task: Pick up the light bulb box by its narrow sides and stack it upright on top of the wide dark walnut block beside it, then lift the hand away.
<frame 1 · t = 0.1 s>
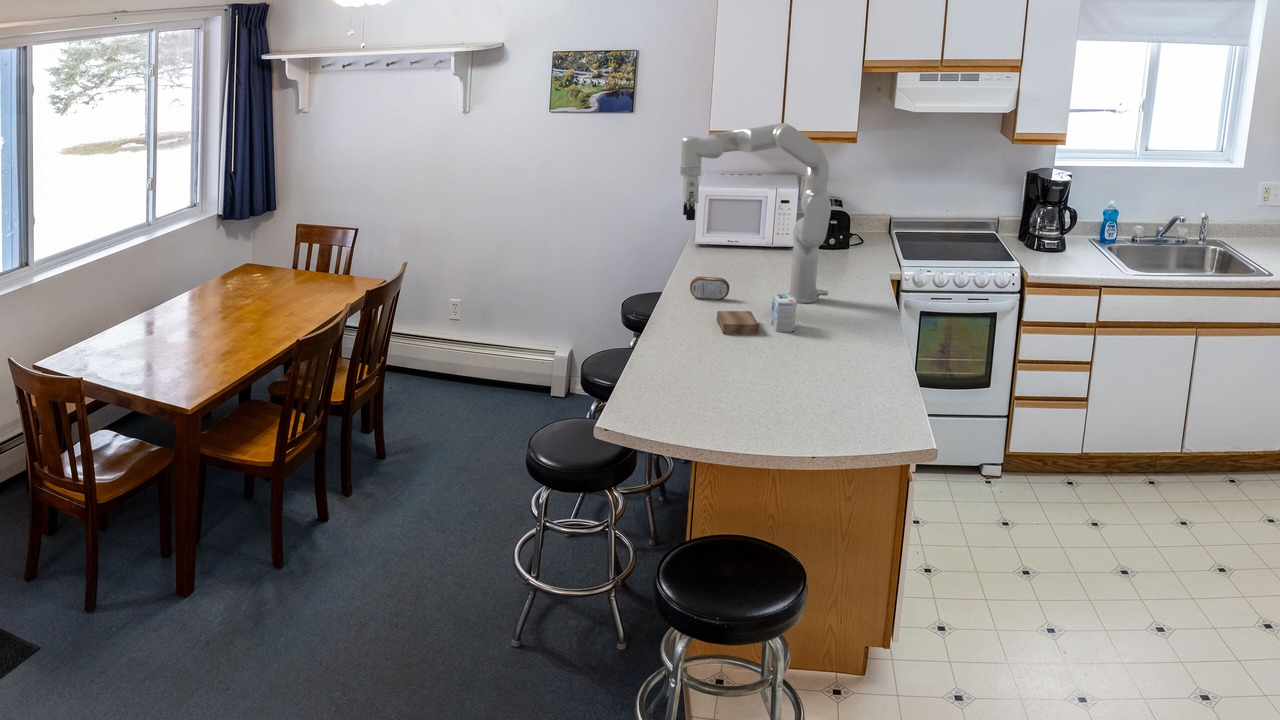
hand: (688, 217, 384), 31 cm above the counter, tool pointing down, fingers open, 9 cm apart
walnut block: (736, 328, 360), on the counter
tin: (709, 299, 394), on the counter
light bulb box: (782, 328, 361), on the counter
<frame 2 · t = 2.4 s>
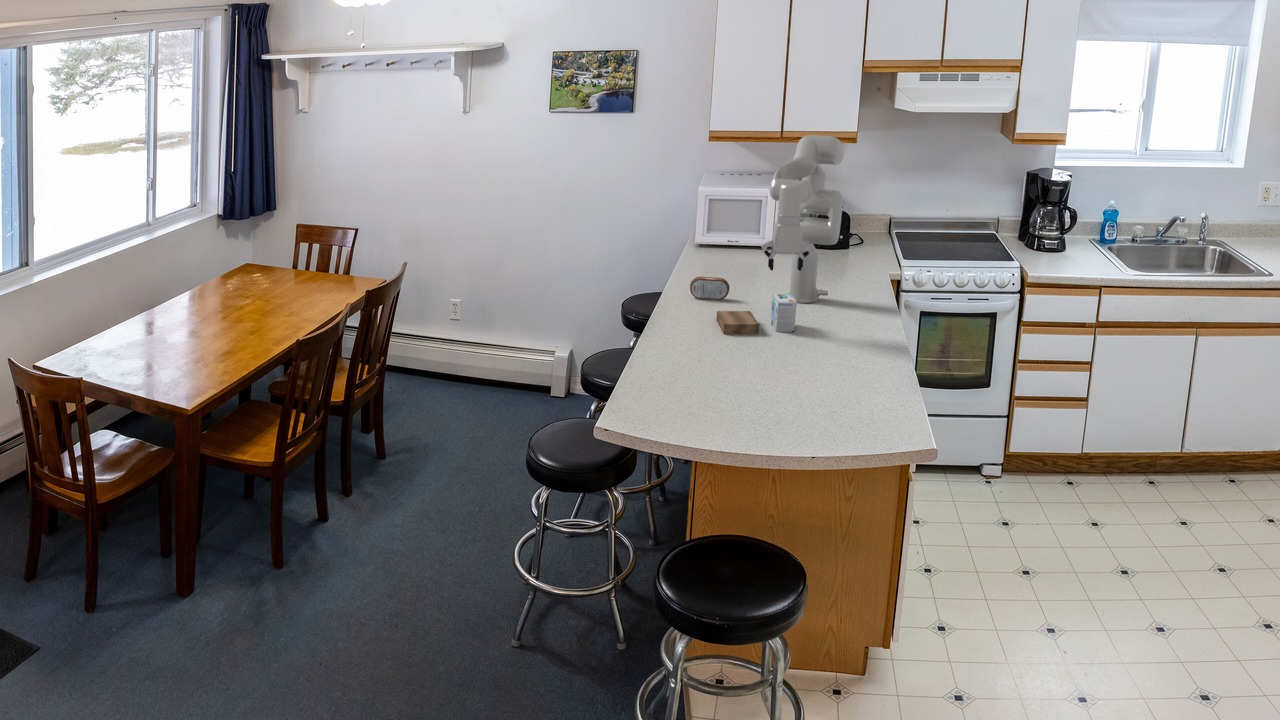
hand: (785, 269, 355), 21 cm above the counter, tool pointing down, fingers open, 9 cm apart
nothing on the counter moved.
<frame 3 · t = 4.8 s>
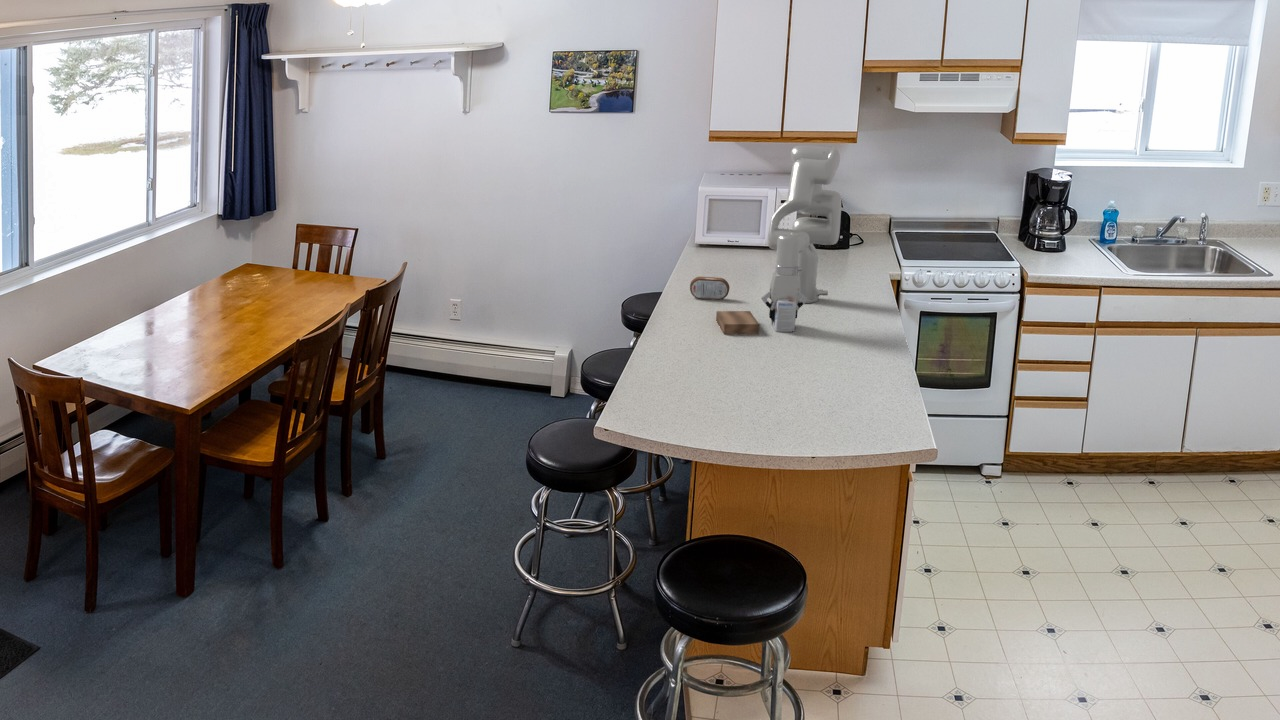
hand: (782, 319, 360), 3 cm above the counter, tool pointing down, fingers closed on light bulb box, 6 cm apart
light bulb box: (782, 328, 361), on the counter, touching gripper
everything else where it was.
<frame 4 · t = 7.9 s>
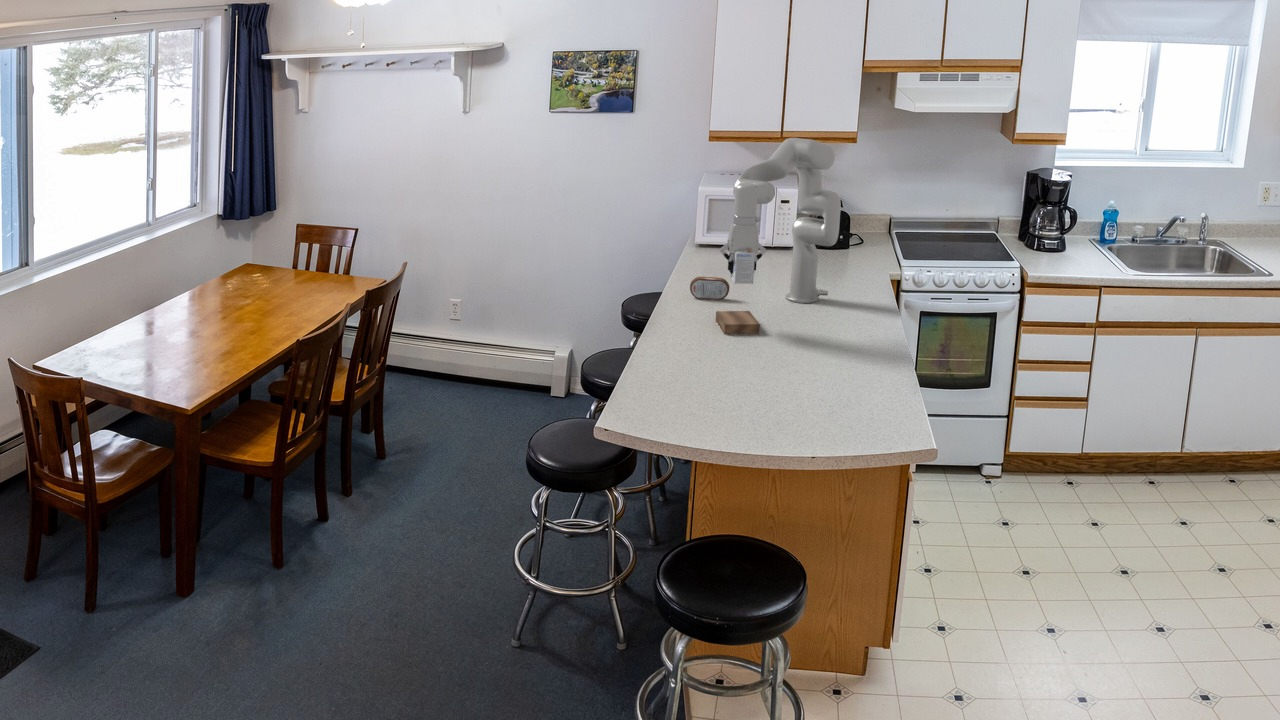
hand: (741, 271, 353), 20 cm above the counter, tool pointing down, fingers closed on light bulb box, 6 cm apart
light bulb box: (741, 280, 354), point 17 cm above the counter, touching gripper
everything else where it was.
when the fingers open (8 cm above the counter, at t = 11.1 s): light bulb box drops 2 cm, resting on walnut block.
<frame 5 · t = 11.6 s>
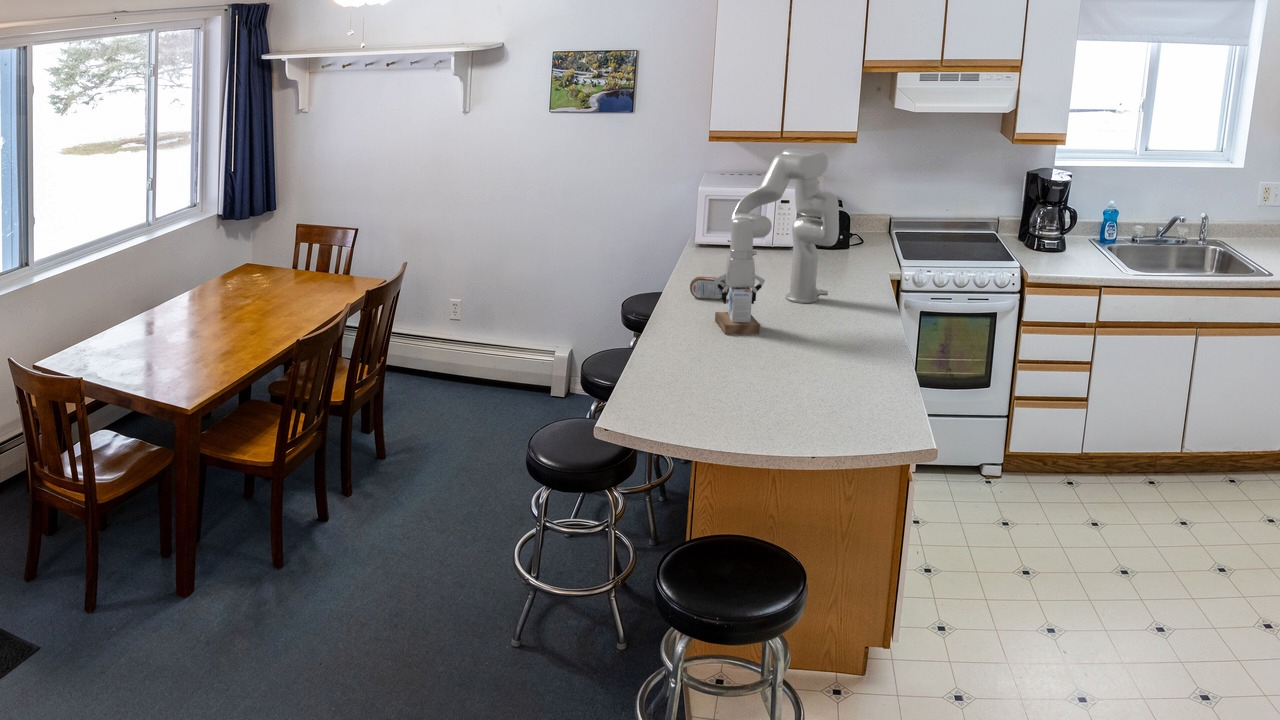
hand: (738, 302, 357), 9 cm above the counter, tool pointing down, fingers open, 9 cm apart
walnut block: (736, 329, 360), on the counter, touching light bulb box
light bulb box: (739, 318, 359), point 3 cm above the counter, touching walnut block
everything else where it was.
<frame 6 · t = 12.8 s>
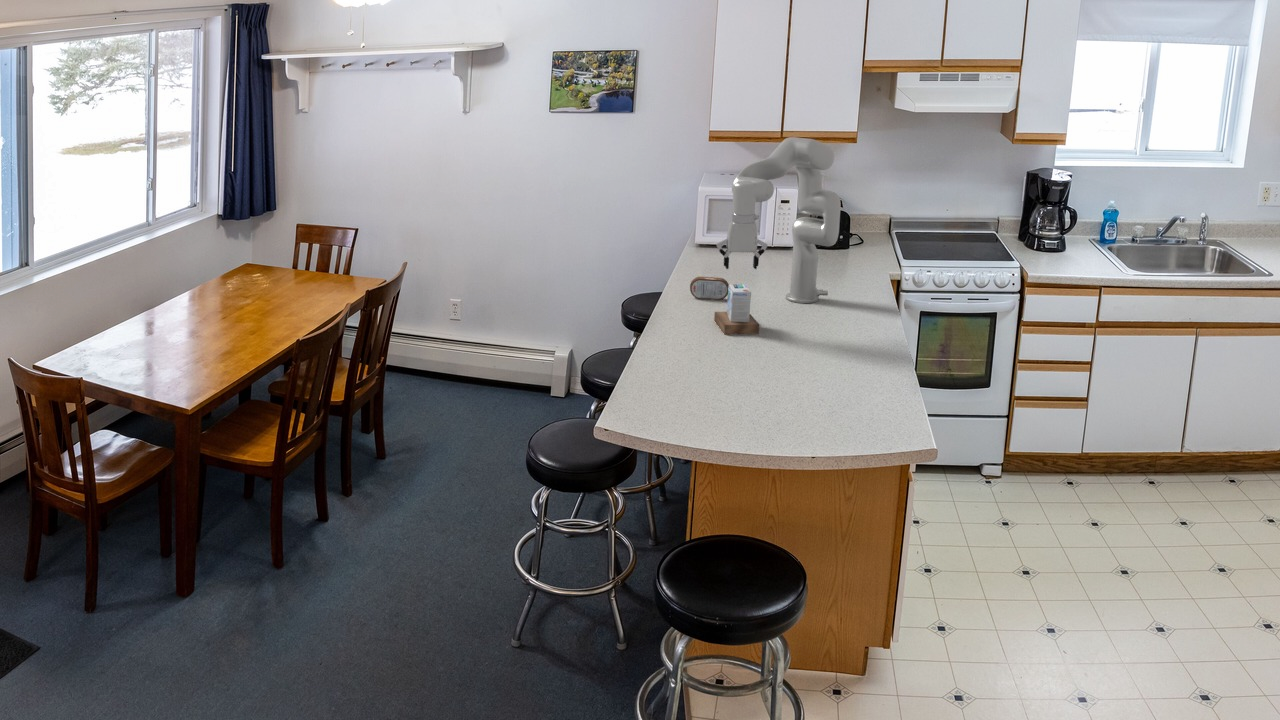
hand: (740, 268, 353), 21 cm above the counter, tool pointing down, fingers open, 9 cm apart
nothing on the counter moved.
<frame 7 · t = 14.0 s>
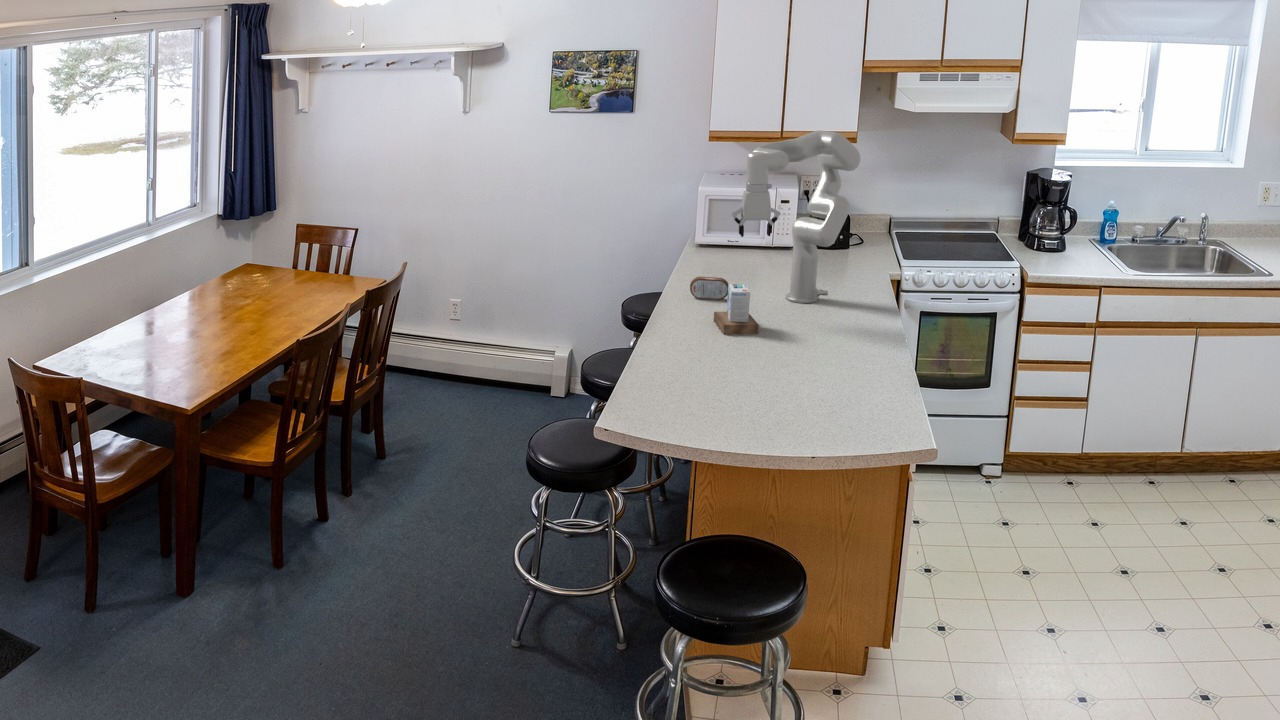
hand: (755, 235, 369), 28 cm above the counter, tool pointing down, fingers open, 9 cm apart
nothing on the counter moved.
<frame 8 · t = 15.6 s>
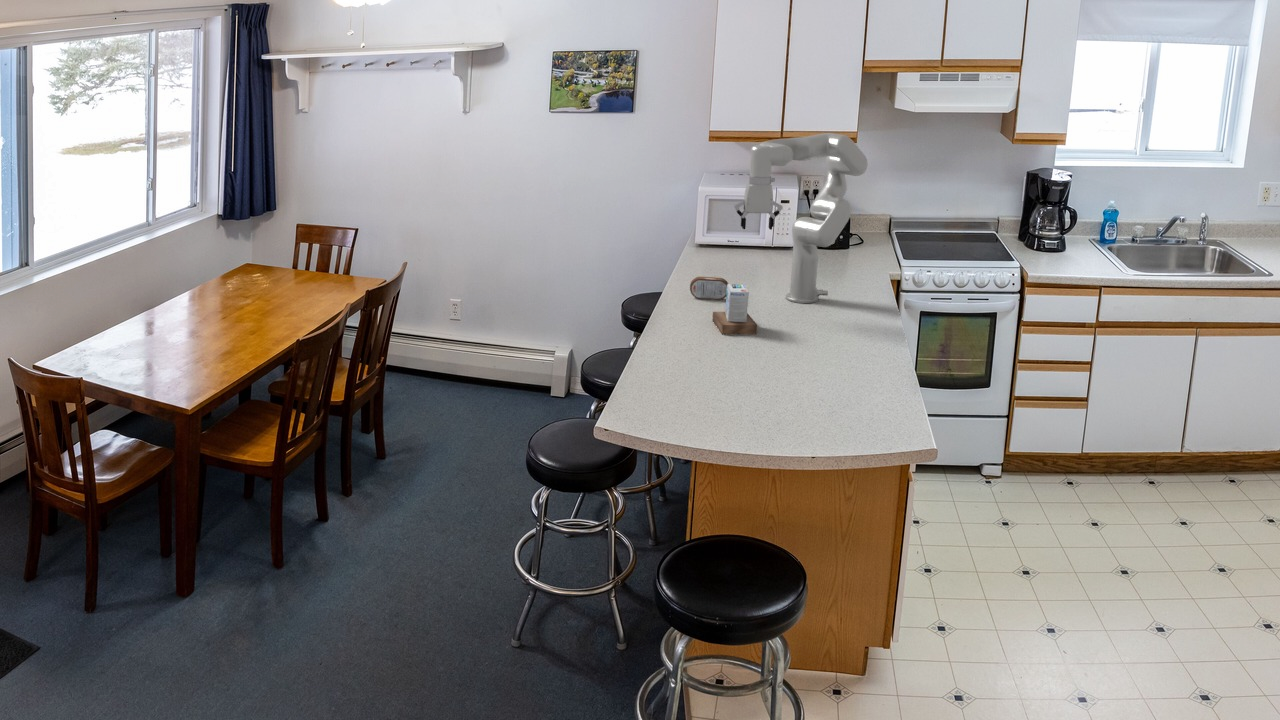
hand: (756, 228, 371), 30 cm above the counter, tool pointing down, fingers open, 9 cm apart
at the end: light bulb box inside the target area on the walnut block (0.4 cm from its centre), point 3.9 cm above the walnut block's base; light bulb box tilted 1°; the gripper is holding nothing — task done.
